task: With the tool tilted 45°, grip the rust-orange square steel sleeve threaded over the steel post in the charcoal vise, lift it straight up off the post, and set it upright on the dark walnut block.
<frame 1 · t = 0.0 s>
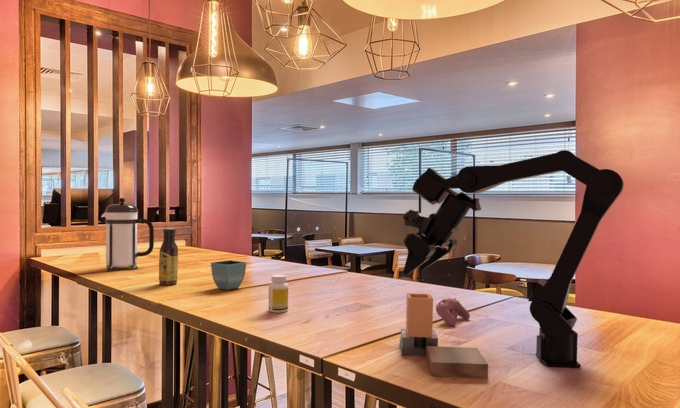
hand: (413, 271, 109), 15 cm above the table, tool tilted 35°, fingers open, 9 cm apart
vise: (418, 349, 99), on the table
sleeve: (418, 333, 99), point 3 cm above the table, touching vise
coffee press: (125, 268, 199), on the table
video game controller: (452, 322, 122), on the table
sauce bottle: (168, 284, 165), on the table
supplement bottle: (278, 311, 130), on the table
walnut block: (455, 367, 89), on the table
flower pot: (228, 289, 160), on the table
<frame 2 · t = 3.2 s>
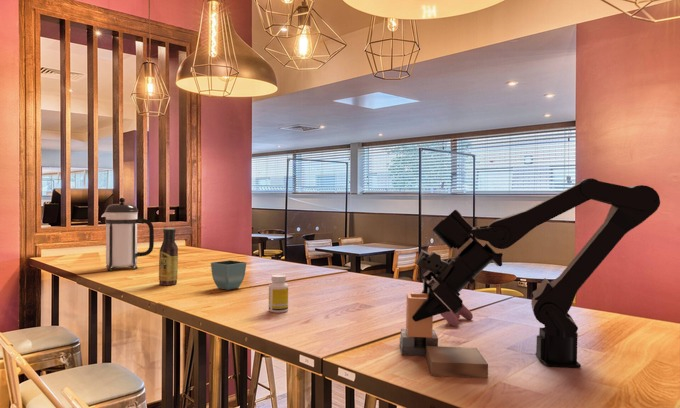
hand: (412, 316, 99), 7 cm above the table, tool tilted 45°, fingers closed on sleeve, 5 cm apart
sleeve: (418, 333, 99), point 4 cm above the table, touching gripper, vise
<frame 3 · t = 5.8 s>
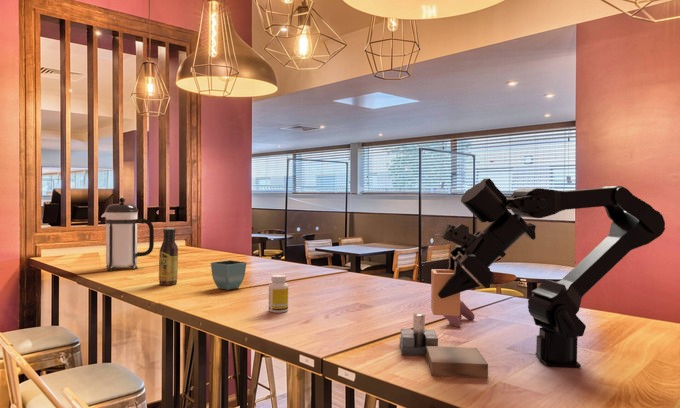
hand: (438, 293, 92), 13 cm above the table, tool tilted 45°, fingers closed on sleeve, 5 cm apart
sleeve: (445, 312, 92), point 10 cm above the table, touching gripper
when the fingers open (8 cm above the table, at t = 8.3 s): sleeve drops 1 cm, resting on walnut block.
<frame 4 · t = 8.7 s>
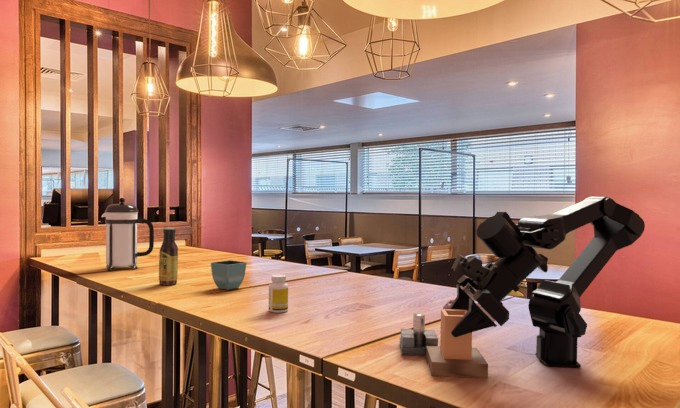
hand: (448, 327, 89), 8 cm above the table, tool tilted 45°, fingers open, 9 cm apart
sleeve: (455, 354, 89), point 2 cm above the table, touching walnut block
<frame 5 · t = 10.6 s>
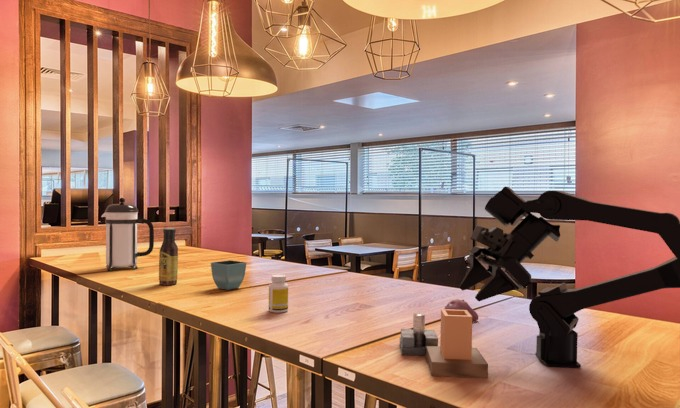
hand: (468, 294, 95), 13 cm above the table, tool tilted 45°, fingers open, 9 cm apart
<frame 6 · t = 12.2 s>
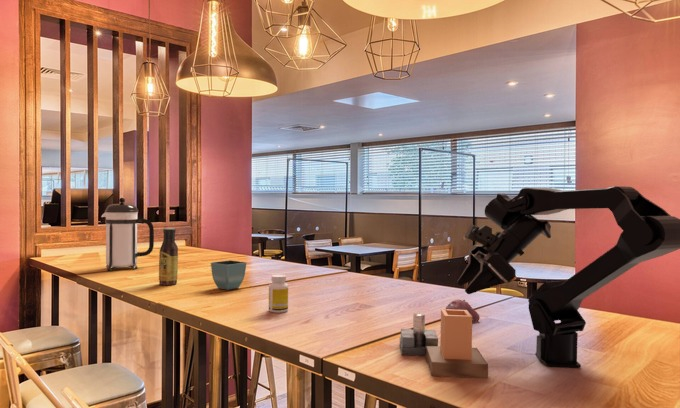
hand: (462, 288, 102), 13 cm above the table, tool tilted 45°, fingers open, 9 cm apart
at the end: sleeve 0.0 cm off-centre on the walnut block, point 2.5 cm above the walnut block's base; sleeve tilted 0°; sleeve touching walnut block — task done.
